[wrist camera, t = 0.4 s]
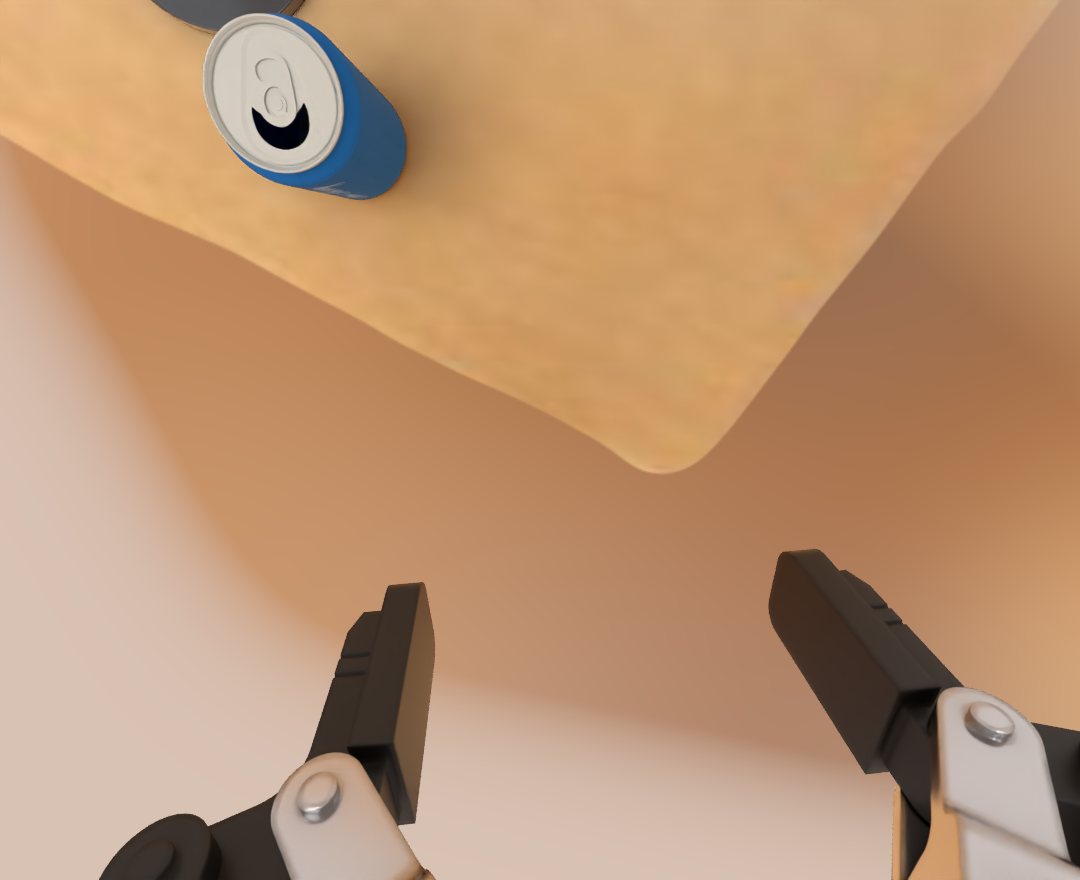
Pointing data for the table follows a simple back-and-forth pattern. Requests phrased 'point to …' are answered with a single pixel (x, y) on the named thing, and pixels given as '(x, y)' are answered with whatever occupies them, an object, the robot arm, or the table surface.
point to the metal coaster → (222, 10)
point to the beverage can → (301, 108)
